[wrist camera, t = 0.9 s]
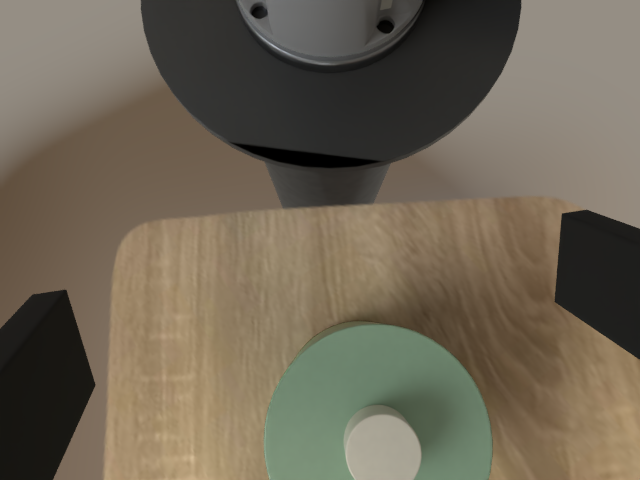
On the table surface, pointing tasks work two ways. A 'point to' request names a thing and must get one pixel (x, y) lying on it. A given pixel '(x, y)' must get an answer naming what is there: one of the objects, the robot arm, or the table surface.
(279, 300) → the table surface
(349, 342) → the cover
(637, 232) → the robot arm
